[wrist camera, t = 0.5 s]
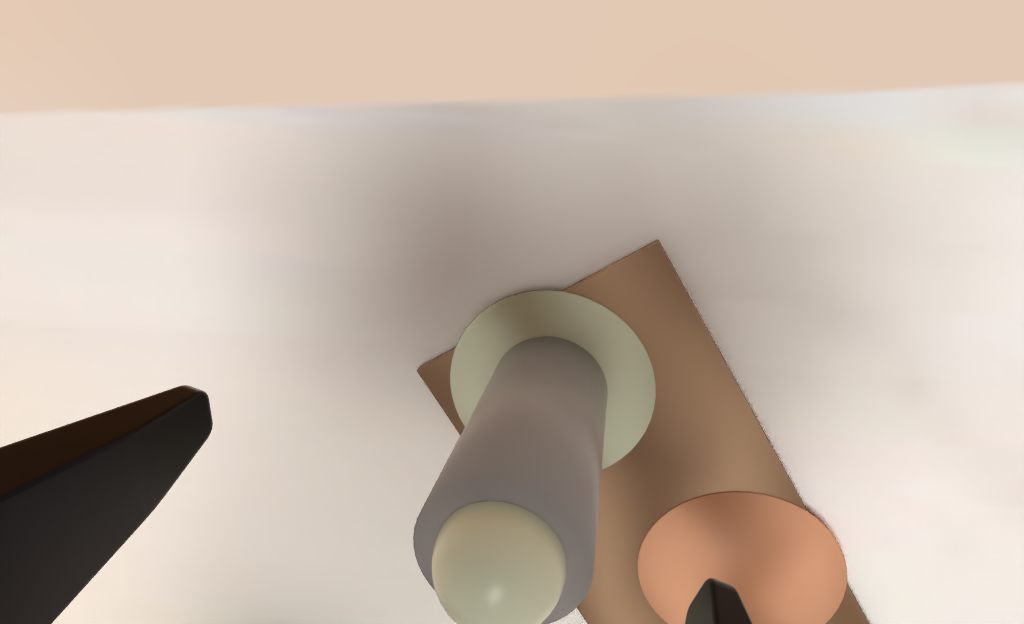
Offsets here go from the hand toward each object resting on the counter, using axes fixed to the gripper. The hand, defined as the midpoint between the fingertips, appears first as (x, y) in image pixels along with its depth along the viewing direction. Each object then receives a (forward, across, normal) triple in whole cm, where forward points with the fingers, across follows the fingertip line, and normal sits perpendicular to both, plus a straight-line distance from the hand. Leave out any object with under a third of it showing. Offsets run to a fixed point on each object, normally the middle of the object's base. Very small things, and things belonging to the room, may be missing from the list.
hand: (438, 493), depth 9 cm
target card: (+13, -6, +12) cm, 19 cm away
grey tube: (+13, -1, +8) cm, 15 cm away
